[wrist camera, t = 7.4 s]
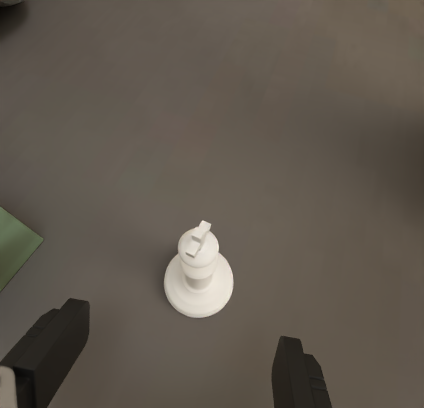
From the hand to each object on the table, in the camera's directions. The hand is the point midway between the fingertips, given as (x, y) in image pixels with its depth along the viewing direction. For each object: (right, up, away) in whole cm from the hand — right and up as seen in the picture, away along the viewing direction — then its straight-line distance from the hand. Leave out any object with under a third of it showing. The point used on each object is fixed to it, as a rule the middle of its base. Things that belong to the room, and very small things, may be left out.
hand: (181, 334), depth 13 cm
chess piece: (0, 0, +10) cm, 10 cm away
